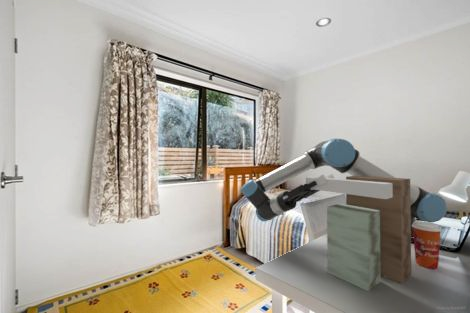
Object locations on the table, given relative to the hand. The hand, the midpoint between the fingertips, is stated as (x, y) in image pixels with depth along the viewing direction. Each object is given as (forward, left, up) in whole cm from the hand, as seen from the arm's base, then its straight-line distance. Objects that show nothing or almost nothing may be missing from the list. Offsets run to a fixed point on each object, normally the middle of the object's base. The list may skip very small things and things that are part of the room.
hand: (329, 178), depth 72 cm
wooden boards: (-6, +9, -30) cm, 32 cm away
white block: (0, +5, -4) cm, 6 cm away
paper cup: (-28, +18, -30) cm, 45 cm away
